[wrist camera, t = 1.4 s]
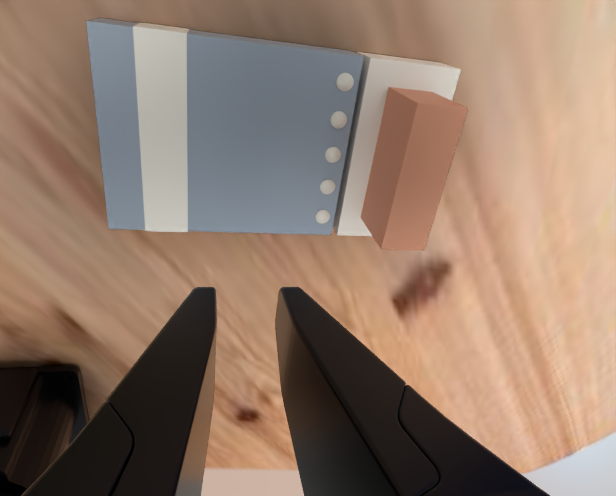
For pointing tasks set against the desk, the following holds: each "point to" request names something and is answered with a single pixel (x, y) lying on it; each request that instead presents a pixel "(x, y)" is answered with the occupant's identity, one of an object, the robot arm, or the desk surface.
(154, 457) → the robot arm
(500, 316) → the desk surface
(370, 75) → the stub
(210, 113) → the light blue flat piece
